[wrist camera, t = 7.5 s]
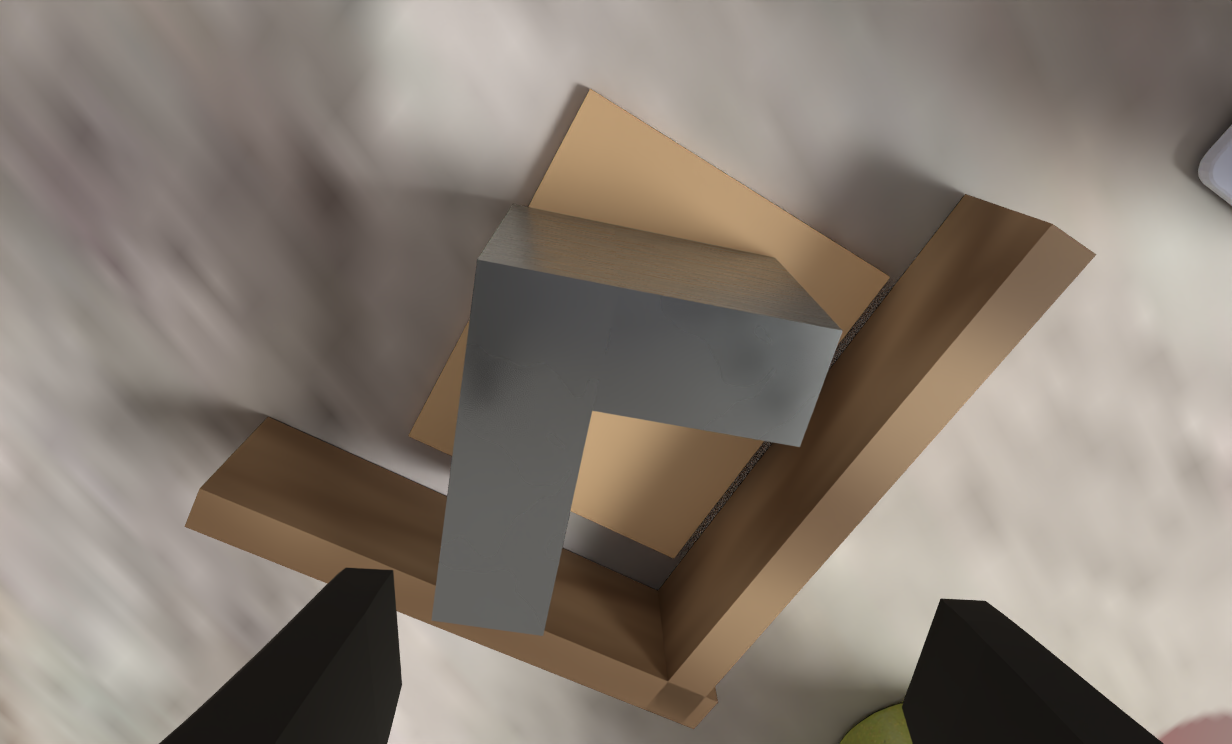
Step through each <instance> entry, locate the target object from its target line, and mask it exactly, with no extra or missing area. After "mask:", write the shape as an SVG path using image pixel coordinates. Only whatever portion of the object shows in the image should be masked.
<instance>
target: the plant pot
mask: <svg viewBox="0 0 1232 744" xmlns="http://www.w3.org/2000/svg"><path fill="white" fill-rule="evenodd" d="M902 705H903V703H901V704H897V705H894V706H891V707H888V708H886V709H883V710H881V711H878V712H876V713H874V714H873V715H871V716H869V717H867V718H866V719H864V720H863V721H861V722H860V723H859V724H857V725H856V726H855V727H853V728H852V729H851V730H850V731H849V732H848V733H847V734H846V735H845V737H844V738H843V739H842V741H841V742H840V744H912V740H911V737H910V734H909V730H908V727H907V723H906V720H905V717H904V713H903V710H902Z"/></svg>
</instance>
